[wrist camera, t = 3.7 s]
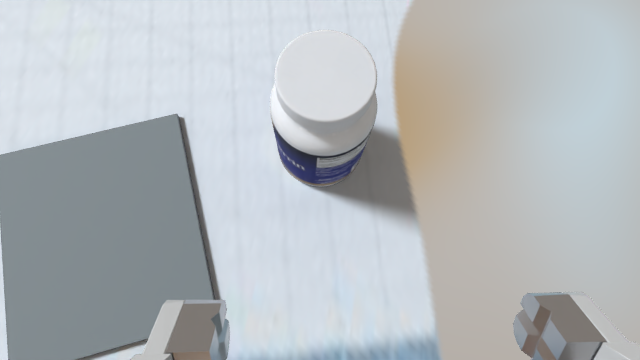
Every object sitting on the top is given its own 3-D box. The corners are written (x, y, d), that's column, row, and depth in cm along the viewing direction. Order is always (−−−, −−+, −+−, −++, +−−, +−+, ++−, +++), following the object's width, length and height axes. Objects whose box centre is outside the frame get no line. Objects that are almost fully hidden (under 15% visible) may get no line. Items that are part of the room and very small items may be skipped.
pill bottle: (266, 130, 27) (243, 43, 17) (338, 100, 28) (355, 2, 18) (299, 202, 26) (294, 151, 16) (374, 169, 26) (412, 101, 17)
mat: (218, 317, 23) (217, 318, 23) (14, 377, 22) (9, 378, 22) (178, 116, 27) (176, 113, 27) (0, 157, 26) (-4, 155, 25)
